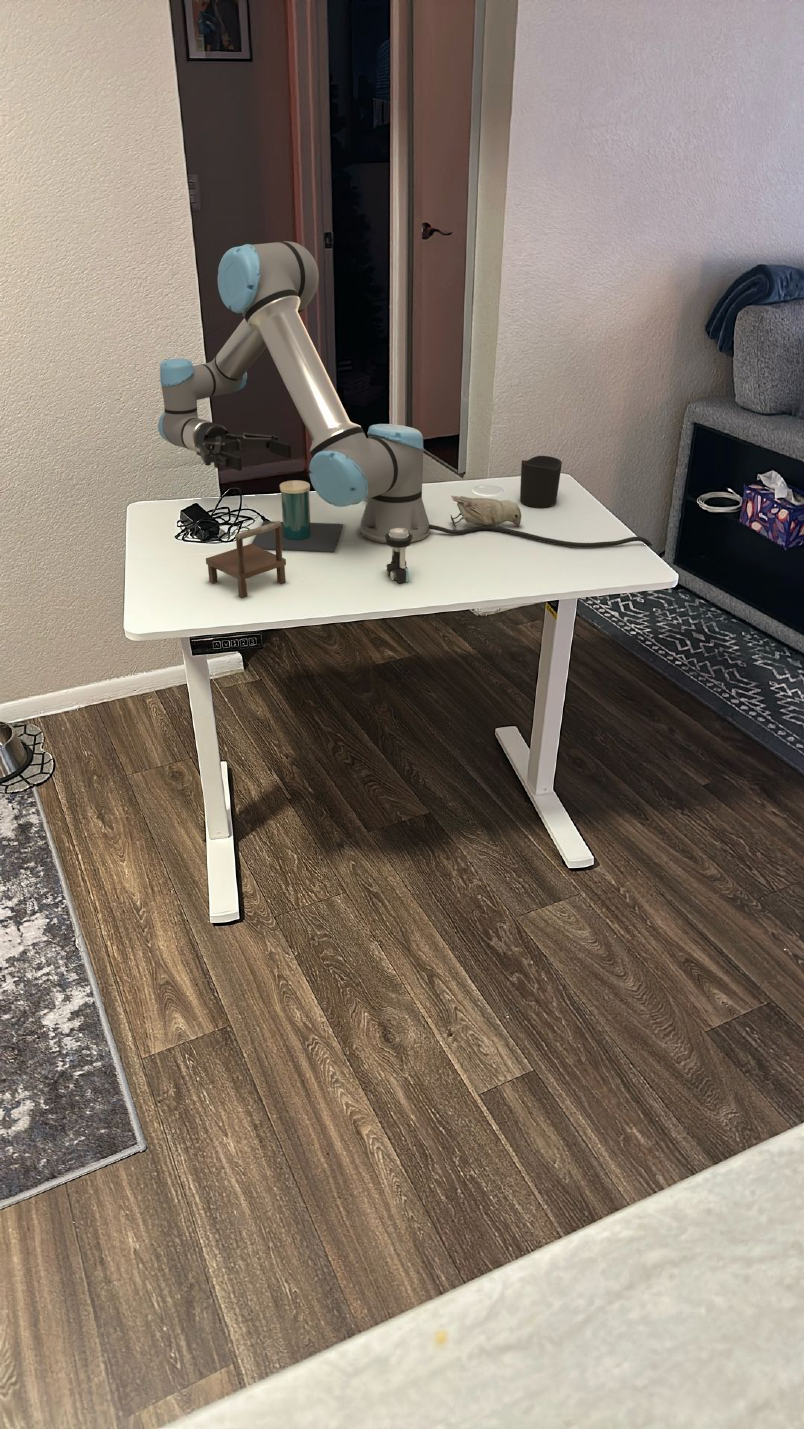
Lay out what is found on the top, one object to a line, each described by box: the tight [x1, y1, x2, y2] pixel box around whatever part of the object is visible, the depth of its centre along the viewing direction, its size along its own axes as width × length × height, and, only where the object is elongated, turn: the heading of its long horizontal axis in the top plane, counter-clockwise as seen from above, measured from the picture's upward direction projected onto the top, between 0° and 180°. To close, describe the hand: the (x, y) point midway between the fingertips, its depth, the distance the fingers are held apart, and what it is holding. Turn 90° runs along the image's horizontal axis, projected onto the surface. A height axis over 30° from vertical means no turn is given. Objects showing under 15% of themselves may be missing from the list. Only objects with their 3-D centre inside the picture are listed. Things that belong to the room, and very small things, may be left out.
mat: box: [251, 520, 344, 553], centre depth 208 cm, size 18×16×1 cm
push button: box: [385, 528, 413, 585], centre depth 187 cm, size 7×5×10 cm
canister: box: [279, 479, 311, 540], centre depth 205 cm, size 6×6×11 cm
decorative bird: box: [449, 495, 522, 530], centre depth 212 cm, size 5×16×8 cm, turn 94°
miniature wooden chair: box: [205, 520, 287, 599], centre depth 184 cm, size 11×11×13 cm
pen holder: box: [519, 455, 563, 509], centre depth 227 cm, size 9×9×10 cm
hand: (265, 457), depth 205 cm, fingers open, 13 cm apart
